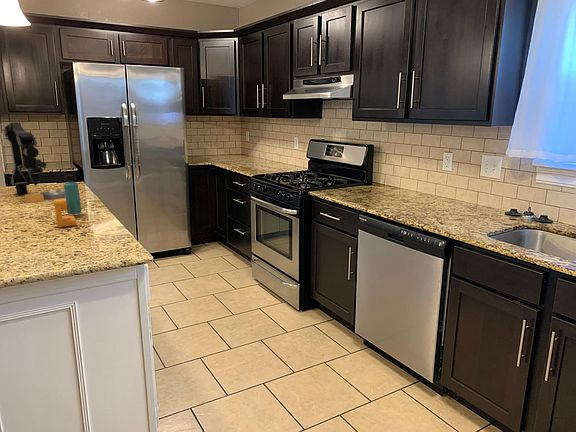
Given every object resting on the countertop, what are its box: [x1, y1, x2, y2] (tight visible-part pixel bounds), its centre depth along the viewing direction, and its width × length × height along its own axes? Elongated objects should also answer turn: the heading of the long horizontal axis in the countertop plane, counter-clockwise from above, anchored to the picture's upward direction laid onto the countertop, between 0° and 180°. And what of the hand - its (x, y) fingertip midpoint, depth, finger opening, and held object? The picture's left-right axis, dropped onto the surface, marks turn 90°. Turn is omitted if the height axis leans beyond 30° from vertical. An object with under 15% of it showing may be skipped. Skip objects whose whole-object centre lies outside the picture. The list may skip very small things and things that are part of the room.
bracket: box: [53, 198, 77, 228], centre depth 189 cm, size 11×7×12 cm, turn 31°
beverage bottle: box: [63, 174, 82, 215], centre depth 204 cm, size 6×7×20 cm
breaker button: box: [47, 189, 57, 194], centre depth 248 cm, size 3×3×4 cm
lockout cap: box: [24, 192, 45, 204], centre depth 238 cm, size 7×7×4 cm
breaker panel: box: [39, 188, 65, 201], centre depth 249 cm, size 14×12×3 cm
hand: (32, 184), depth 236 cm, fingers open, 9 cm apart
